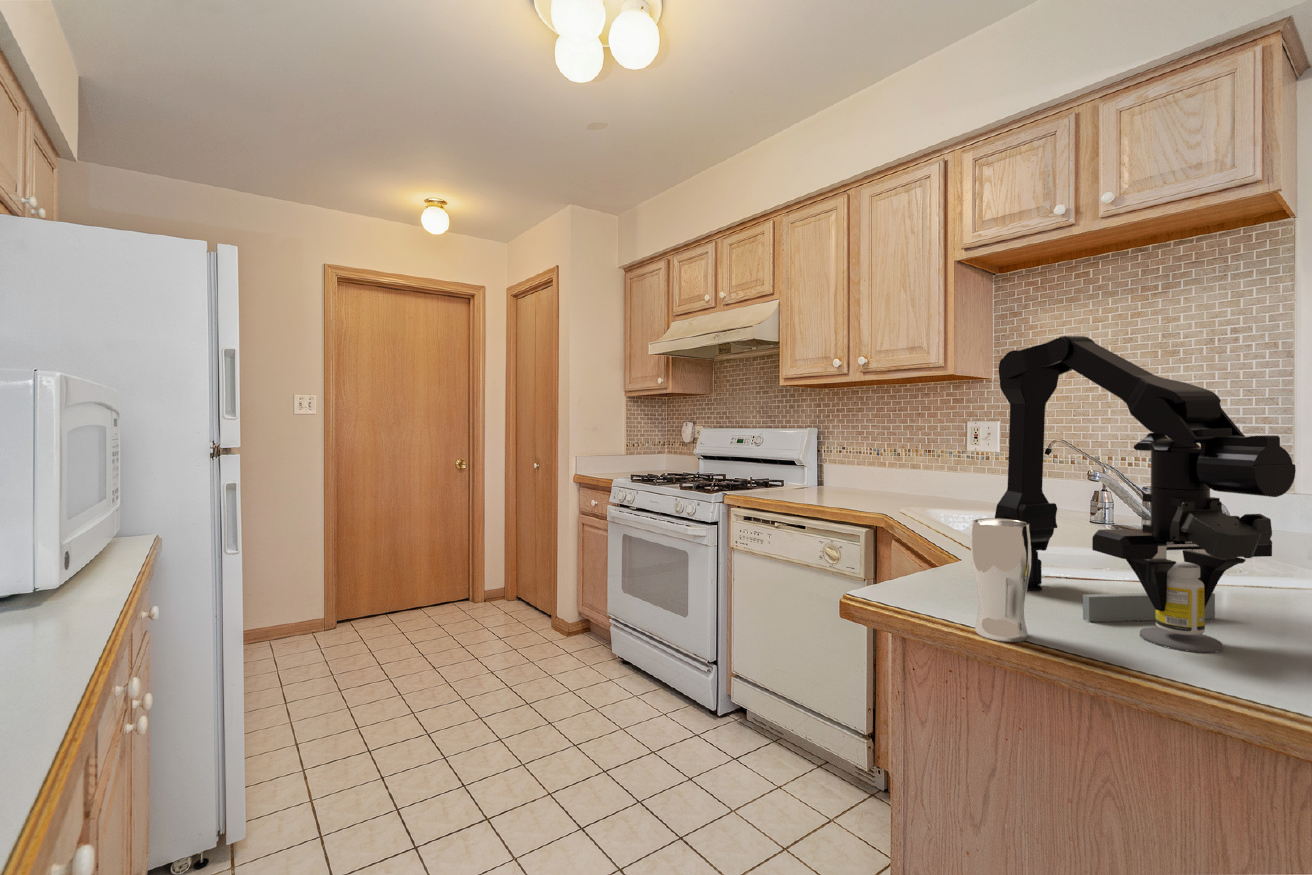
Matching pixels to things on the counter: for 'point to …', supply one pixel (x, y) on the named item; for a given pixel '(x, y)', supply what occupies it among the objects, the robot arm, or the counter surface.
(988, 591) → the beer glass
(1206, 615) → the gray rectangular bar
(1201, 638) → the coaster
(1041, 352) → the robot arm
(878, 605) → the counter surface
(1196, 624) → the supplement bottle
